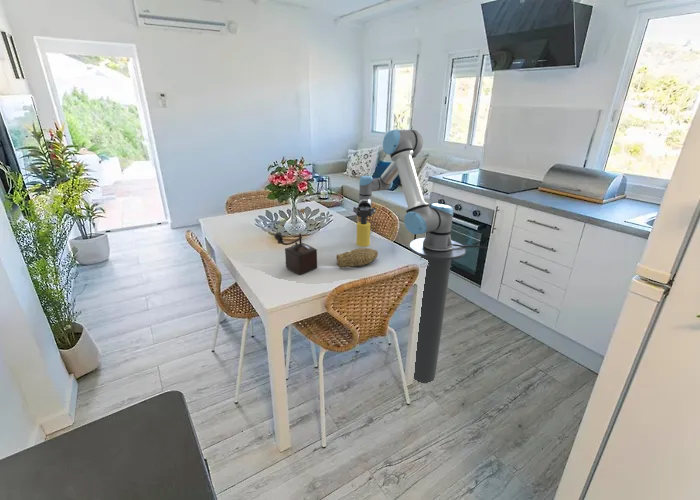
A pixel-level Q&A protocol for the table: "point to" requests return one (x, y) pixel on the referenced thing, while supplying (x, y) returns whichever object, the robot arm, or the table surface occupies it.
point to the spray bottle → (363, 229)
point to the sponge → (356, 257)
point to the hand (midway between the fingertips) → (363, 218)
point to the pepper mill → (298, 255)
